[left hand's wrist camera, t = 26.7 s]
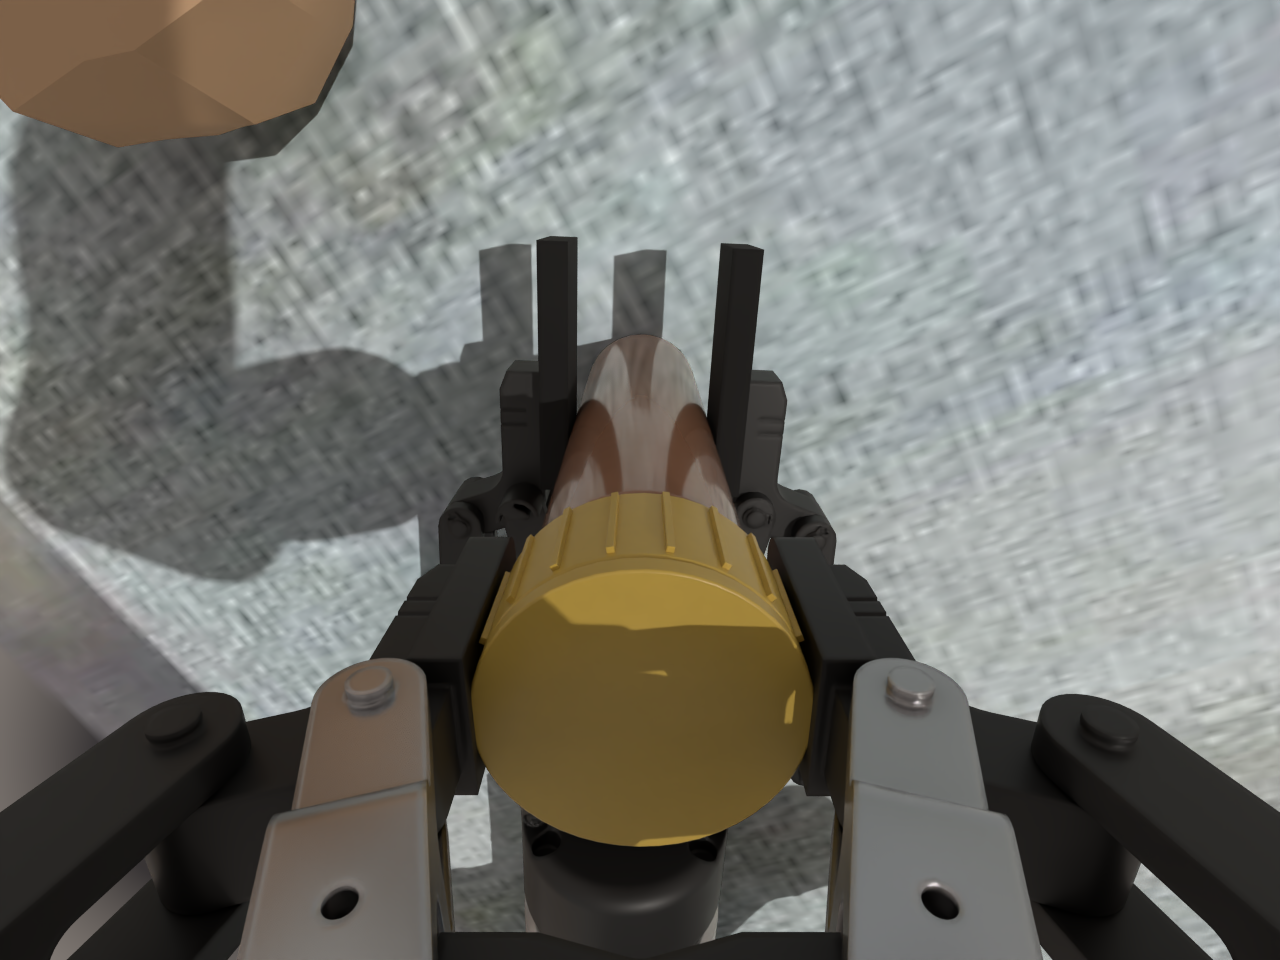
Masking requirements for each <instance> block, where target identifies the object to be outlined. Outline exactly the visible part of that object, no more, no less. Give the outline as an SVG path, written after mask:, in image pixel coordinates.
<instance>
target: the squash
mask: <svg viewBox="0 0 1280 960" xmlns="http://www.w3.org/2000/svg"><path fill="white" fill-rule="evenodd" d="M354 4H355V0H0V99H1V100H2V101H3V102H4V103H5V104H6V105H7V106H8V107H9V108H10V109H11V110H12V111H13V112H16V113H19V114H22V115H25V116H28V117H31V118H34V119H36V120H39V121H42V122H45V123H48V124H51V125H54V126H57V127H60V128H63V129H66V130H69V131H72V132H74V133H77V134H80V135H83V136H86V137H89V138H92V139H95V140H98V141H101V142H104V143H107V144H110V145H112V146H115V147H124V146H130V145H136V144H142V143H148V142H154V141H160V140H166V139H177V138H189V137H201V136H213V135H220V134H223V133H226V132H229V131H232V130H235V129H238V128H241V127H244V126H250V125H256V124H258V123H261V122H264V121H267V120H269V119H272V118H275V117H278V116H281V115H283V114H286V113H289V112H292V111H294V110H297V109H300V108H303V107H306V106H308V105H311V104H314V103H315V102H316V100H317V98H318V96H319V94H320V92H321V90H322V88H323V86H324V84H325V82H326V80H327V78H328V76H329V74H330V72H331V70H332V68H333V66H334V63H335V61H336V59H337V57H338V55H339V53H340V51H341V49H342V47H343V45H344V43H345V41H346V39H347V37H348V35H349V33H350V31H351V29H352V27H353V16H354Z"/></svg>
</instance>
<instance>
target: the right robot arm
mask: <svg viewBox="0 0 1280 960" xmlns="http://www.w3.org/2000/svg"><path fill="white" fill-rule="evenodd" d="M536 241H537V303H538V361H522V360H515V361H514V363H513V364H512V365H511V366H510V367H509V369H508V370H507V371H506V374H505V376H504V379H503V381H502V384H501V387H500V408H501V438H502V464H503V471H502V472H501V473H499V474H496V475H494V476H490V477H487V478H481V477H472V478H469V479H468V480H466V481H464V483H463V484H462V485H461V487H460V488H459V490H458V491H457V493H456V494H455V496H454V497H453V499H452V500H451V502H450V503H449V505H448V506H447V508H446V510H445V511H444V513H443V514H442V516H441V517H440V520H439V525H438V528H439V554H440V564H456V562H457V560H458V558H459V556H460V554H461V552H462V550H463V548H464V546H465V544H466V542H467V540H468V539H469V538H470V537H497V530H498V529H502V528H505V529H506V533H507V536H508V537H512V538H513V539H514V543H515V549H516V560H517V558H518V557H519V555H520V554H521V552H522V551H523V548H524V545H525V542H526V539H527V538H528V537H529V535H532V536H534V537H535V535H536V534H537V533H538V532H539V531H540V530H541V528H542V525H543V522H544V518H545V515H546V512H547V509H548V506H549V502H550V499H551V496H552V493H553V489H554V486H555V483H556V480H557V477H558V473H559V470H560V467H561V464H562V460H563V457H564V454H565V451H566V448H567V444H568V441H569V438H570V435H571V432H572V428H573V425H574V422H575V419H576V415H577V237H559V236H549V237H546V238H542V239H539V240H536ZM763 255H764V250H763V249H760V248H757V247H754V246H751V245H748V244H726V243H721V248H720V261H719V273H718V286H717V298H716V311H715V323H714V336H713V348H712V361H711V373H710V386H709V398H708V411H707V420H708V423H709V426H710V429H711V432H712V436H713V439H714V442H715V445H716V448H717V451H718V455H719V458H720V461H721V464H722V467H723V470H724V473H725V477H726V480H727V483H728V486H729V489H730V492H731V496H732V499H733V502H734V505H735V508H736V511H737V515H738V518H739V521H740V524H741V527H742V530H743V531H744V532H745V533H746V534H748V535H749V534H750V533H752V534H753V535H754V536H755V537H756V540H757V543H758V546H759V548H760V550H761V552H762V553H763V555H764V553H765V550H766V547H767V545H768V542H769V539H770V538H772V537H813V538H815V540H816V542H817V543H818V545H819V547H820V549H821V551H822V553H823V555H824V557H825V559H826V560H827V562H828V564H829V565H833V564H834V556H835V548H836V533H835V532H834V530H833V528H832V527H831V525H830V523H829V521H828V519H827V518H826V516H825V514H824V513H823V511H822V509H821V508H820V506H819V504H818V503H817V502H816V500H815V498H814V497H813V495H812V494H811V493H809V492H808V491H805V490H800V489H798V490H791V489H789V488H786V487H783V486H782V485H780V484H778V483H777V479H778V471H779V463H780V455H781V447H782V439H783V431H784V420H785V414H786V406H787V398H786V395H785V391H784V387H783V384H782V382H781V380H780V379H779V378H778V377H777V375H776V374H775V373H774V372H773V371H767V370H752V363H753V353H754V343H755V333H756V324H757V314H758V304H759V294H760V285H761V275H762V265H763ZM791 779H792V780H793V782H795V783H796V784H798V785H802V786H804V785H803V781H802V778H801V774H800V771H799V767H798V768H797V770H796V771H795V773H794V775H793V776H792V777H791ZM520 807H521V806H520ZM521 812H522V838H523V865H524V891H525V901H524V903H525V924H526V932H539V933H543V934H547V935H550V936H554V937H558V938H561V939H565V940H568V941H572V942H576V943H579V944H583V945H587V946H590V947H594V948H597V949H601V950H605V951H608V952H612V953H616V954H619V955H623V956H626V957H631V958H636V959H644V958H649V957H654V956H657V955H661V954H664V953H668V952H672V951H675V950H679V949H683V948H686V947H690V946H693V945H697V944H701V943H704V942H708V941H712V940H715V936H716V928H717V921H718V903H719V898H720V892H721V884H722V876H723V867H724V859H725V850H726V842H727V834H728V828H727V829H725V830H722V831H720V832H718V833H715V834H712V835H709V836H706V837H703V838H700V839H696V840H692V841H687V842H683V843H678V844H670V845H662V846H641V847H638V846H621V845H613V844H607V843H601V842H596V841H592V840H588V839H585V838H581V837H577V836H575V835H572V834H569V833H567V832H564V831H561V830H559V829H557V828H555V827H553V826H551V825H549V824H547V823H545V822H543V821H541V820H540V819H538V818H536V817H535V816H533V815H532V814H530V813H529V812H527V811H526V810H524V809H523V808H522V807H521Z"/></svg>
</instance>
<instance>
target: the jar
mask: <svg viewBox="0 0 1280 960" xmlns="http://www.w3.org/2000/svg"><path fill="white" fill-rule="evenodd" d="M663 491H664V492H670V496H674V497H679V498H684V499H687V500H690V501H693V502H696V503H699V504H702V505H704V506H706V507H708V508H710V507H711V506H714V507H716V508H717V509H718V512H719V513H720V514H721V515H723V516H724V517H726V518H728V519H729V520H731V521H732V522H734V523H735V524H736V525H737V526H738V527H739V528H741V529H742V527H741V524H740V521H739V518H738V515H737V511H736V508H735V505H734V502H733V499H732V496H731V492H730V489H729V486H728V483H727V480H726V477H725V473H724V470H723V467H722V464H721V461H720V458H719V455H718V451H717V448H716V445H715V442H714V439H713V436H712V432H711V429H710V426H709V423H708V420H707V417H706V413H705V410H704V407H703V404H702V401H701V398H700V395H699V391H698V388H697V385H696V382H695V379H694V376H693V372H692V370H691V367H690V365H689V363H688V361H687V359H686V358H685V356H684V355H683V354H682V353H681V351H680V350H679V349H678V348H676V347H675V346H674V345H673V344H671V343H670V342H668V341H666V340H664V339H662V338H659V337H656V336H652V335H644V334H638V335H630V336H626V337H623V338H621V339H618V340H616V341H614V342H613V343H611V344H610V345H608V346H607V347H606V348H605V349H604V350H603V351H602V352H601V353H600V354H599V355H598V357H597V358H596V360H595V362H594V363H593V366H592V368H591V370H590V374H589V377H588V380H587V383H586V387H585V390H584V393H583V396H582V399H581V403H580V406H579V409H578V412H577V415H576V419H575V422H574V425H573V428H572V432H571V435H570V438H569V441H568V444H567V448H566V451H565V454H564V457H563V460H562V464H561V467H560V470H559V473H558V477H557V480H556V483H555V486H554V489H553V493H552V496H551V499H550V502H549V506H548V509H547V512H546V515H545V518H544V522H543V525H542V528H541V530H542V529H543V528H544V527H545V526H547V525H548V524H549V523H550V522H552V521H553V520H554V519H556V518H557V517H559V516H561V515H562V514H563V511H564V509H566V508H568V507H570V508H571V509H573V508H576V507H578V506H580V505H583V504H585V503H587V502H591V501H594V500H597V499H601V498H604V497H609V496H611V493H614V492H618V494H619V495H621V494H632V493H651V494H662V492H663Z"/></svg>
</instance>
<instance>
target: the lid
mask: <svg viewBox="0 0 1280 960" xmlns="http://www.w3.org/2000/svg"><path fill="white" fill-rule="evenodd" d="M802 641H804V638H803V635H802V632H801V630H800V627H799V625H798V622H797V619H796V617H795V614H794V611H793V609H792V606H791V604H790V601H789V598H788V596H787V593H786V590H785V588H784V585H783V582H782V580H781V577H780V575H779V572H778V570H777V569H775V570H773V571H772V569H771V567H770V565H769V563H768V561H767V559H766V558H765V556H764V555H763V553H762V552H761V550H760V548H759V546H758V543H757V540H756V537H755V536H754V535H753V534H752V533H750V534H749V535H748V534H746V533H745V532H744V531H743V530H742V529H741V528H739V527H738V526H737V525H736V524H735V523H734V522H732V521H731V520H729V519H728V518H726V517H724V516H723V515H721V514H720V513H719V512H718V509H717V508H716V507H714V506H711V507H710V508H708V507H706V506H704V505H702V504H699V503H696V502H693V501H690V500H687V499H684V498H679V497H674V496H670V492H664V491H663V492H662V494H651V493H632V494H621V495H619V494H618V492H614V493H611V496H609V497H604V498H601V499H597V500H594V501H591V502H587V503H585V504H583V505H580V506H578V507H576V508H573V509H571V508H570V507H568V508H566V509H564V511H563V514H562V515H561V516H559V517H557V518H556V519H554V520H553V521H552V522H550V523H549V524H548V525H547V526H545V527H544V528H543V529H542V530H540V531H539V532H538V533H537V534H536V535H535V537H534V536H532V535H529V537H528V538H527V539H526V542H525V545H524V548H523V551H522V552H521V554H520V555H519V557H518V558H517V560H516V562H515V564H514V566H513V568H512V570H511V572H507V571H505V574H504V576H503V579H502V581H501V584H500V587H499V589H498V592H497V595H496V597H495V600H494V603H493V605H492V608H491V611H490V614H489V616H488V619H487V622H486V624H485V627H484V630H483V632H482V635H481V638H480V640H479V643H480V644H483V645H484V648H483V650H482V653H481V656H480V659H479V662H478V665H477V668H476V671H475V674H474V677H473V680H472V685H471V700H472V709H473V718H474V727H475V736H476V743H477V749H478V752H479V755H480V757H481V759H482V760H483V762H484V764H485V766H486V768H487V770H488V771H489V773H490V774H491V776H492V777H493V778H494V780H495V781H496V782H497V784H498V785H499V786H500V787H501V788H502V789H503V790H504V792H505V793H506V794H507V795H508V796H509V797H510V798H511V799H512V800H514V801H515V802H516V803H517V804H518V805H520V806H521V807H522V808H523V809H524V810H526V811H527V812H529V813H530V814H532V815H533V816H535V817H536V818H538V819H540V820H541V821H543V822H545V823H547V824H549V825H551V826H553V827H555V828H557V829H559V830H561V831H564V832H567V833H569V834H572V835H575V836H577V837H581V838H585V839H588V840H592V841H596V842H601V843H607V844H613V845H621V846H638V847H641V846H662V845H670V844H678V843H683V842H687V841H692V840H696V839H700V838H703V837H706V836H709V835H712V834H715V833H718V832H720V831H722V830H725V829H727V828H729V827H731V826H733V825H736V824H737V823H739V822H741V821H742V820H744V819H746V818H748V817H749V816H751V815H753V814H754V813H755V812H757V811H758V810H759V809H761V808H762V807H763V806H764V805H766V804H767V803H768V802H770V801H771V800H772V799H773V798H774V797H775V796H776V795H777V794H778V793H779V792H780V791H781V790H782V789H783V787H784V786H785V785H786V784H787V782H788V781H789V780H790V778H791V777H792V776H793V775H794V773H795V771H796V770H797V768H798V766H799V764H800V763H801V761H802V759H803V757H804V755H805V752H806V750H807V746H808V739H809V730H810V722H811V713H812V704H813V684H812V680H811V676H810V673H809V669H808V666H807V663H806V661H805V658H804V655H803V653H802V650H801V647H800V644H799V642H802Z"/></svg>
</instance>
